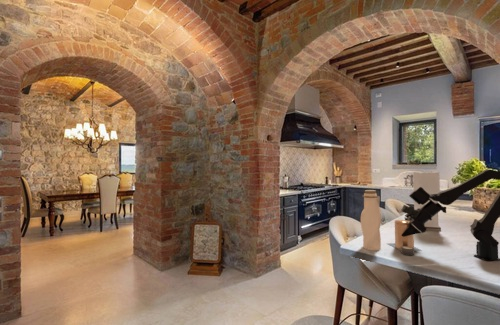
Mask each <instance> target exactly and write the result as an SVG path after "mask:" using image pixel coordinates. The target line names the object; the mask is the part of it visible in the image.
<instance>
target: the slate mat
mask: <svg viewBox="0 0 500 325" xmlns="http://www.w3.org/2000/svg"><path fill="white" fill-rule="evenodd" d="M387 245H388V246H389V247H392V248H395V249H396V250H398V251H400V252H401V250H400V249H397V248H396V247H395V242H393V243H392V242H391V243H387ZM420 251H421V252H422V251H423V250H422V249H420V248H418V247H415V246H414V252H420Z"/></svg>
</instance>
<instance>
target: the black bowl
mask: <svg viewBox="0 0 500 325" xmlns="http://www.w3.org/2000/svg"><path fill="white" fill-rule="evenodd" d="M400 252H401V254H403V255H405V256H413V255H414V254H415V251H414V248H413V247H410V246H402V247H401V251H400Z"/></svg>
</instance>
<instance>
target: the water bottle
mask: <svg viewBox="0 0 500 325" xmlns="http://www.w3.org/2000/svg"><path fill="white" fill-rule="evenodd" d="M380 196H381V195H378V194H377V190H376V189H375V190H374V189H366V190H364V193H363V195H361V197H362V198H363V209H362V211H361V214H360V226H361V231H362V238H363V239H362V241H363V243H362V244H363V246H362V248H364V249H365V250H367V251H380V250H381V249H382V242H381V240H382V239H381V231H380V230H381V229H380V228H381V224H382V212H381V208H380V198H381V197H380Z"/></svg>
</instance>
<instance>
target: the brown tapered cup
mask: <svg viewBox="0 0 500 325" xmlns="http://www.w3.org/2000/svg"><path fill="white" fill-rule="evenodd" d="M409 222H410V221H407V220H405V219H396V220H394V243H395V247H396V248H397V249H396V248H395V249H396V250H398V249H400V250H401V247H402V246H410V247H413V248H414V247H415V237H414V236H415V234H413V235H409V236H405V237H403V236H402V233H403V232H404V231H405V230H406V229H407V228H408V226H409ZM410 223H411V222H410ZM411 224H412V223H411Z"/></svg>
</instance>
